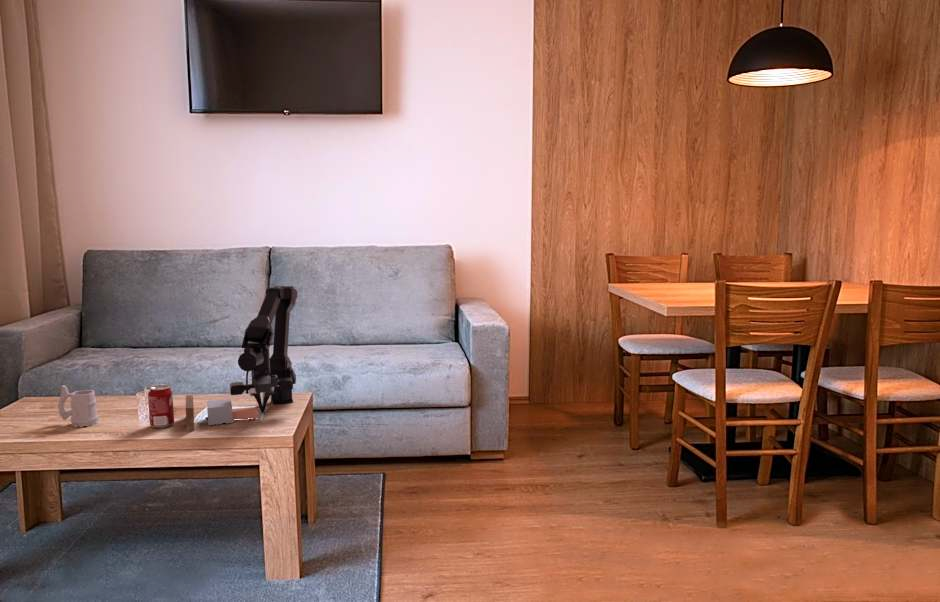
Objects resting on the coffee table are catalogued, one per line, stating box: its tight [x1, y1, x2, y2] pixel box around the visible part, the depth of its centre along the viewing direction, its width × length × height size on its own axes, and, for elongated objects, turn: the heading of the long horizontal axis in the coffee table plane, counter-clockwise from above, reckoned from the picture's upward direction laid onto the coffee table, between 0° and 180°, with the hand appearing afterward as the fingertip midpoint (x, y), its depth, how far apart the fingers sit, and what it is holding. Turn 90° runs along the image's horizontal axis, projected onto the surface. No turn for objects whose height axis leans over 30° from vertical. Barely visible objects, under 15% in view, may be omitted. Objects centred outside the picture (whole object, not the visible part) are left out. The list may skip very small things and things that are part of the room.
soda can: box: [147, 384, 175, 429], centre depth 217 cm, size 7×7×12 cm
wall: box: [185, 394, 195, 432], centre depth 219 cm, size 2×16×7 cm, turn 21°
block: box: [206, 398, 234, 426], centre depth 223 cm, size 7×9×5 cm
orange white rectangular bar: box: [232, 406, 259, 420], centre depth 225 cm, size 8×3×3 cm, turn 107°
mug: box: [57, 384, 100, 428], centre depth 220 cm, size 8×12×12 cm, turn 87°
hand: (262, 412), depth 227 cm, fingers closed
